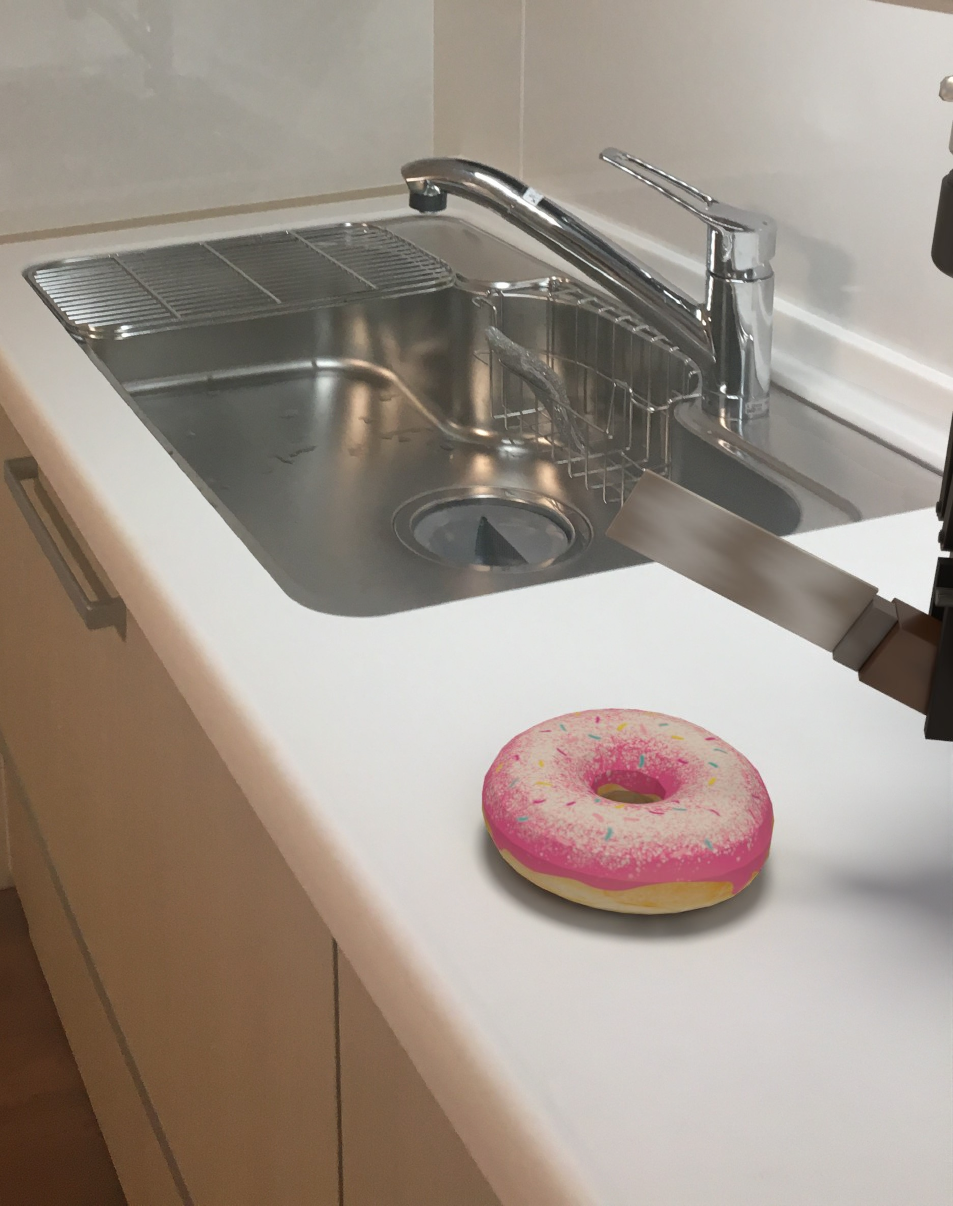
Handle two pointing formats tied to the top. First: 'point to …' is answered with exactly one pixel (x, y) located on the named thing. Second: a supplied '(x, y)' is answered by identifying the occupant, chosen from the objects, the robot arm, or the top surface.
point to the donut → (628, 811)
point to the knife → (784, 586)
